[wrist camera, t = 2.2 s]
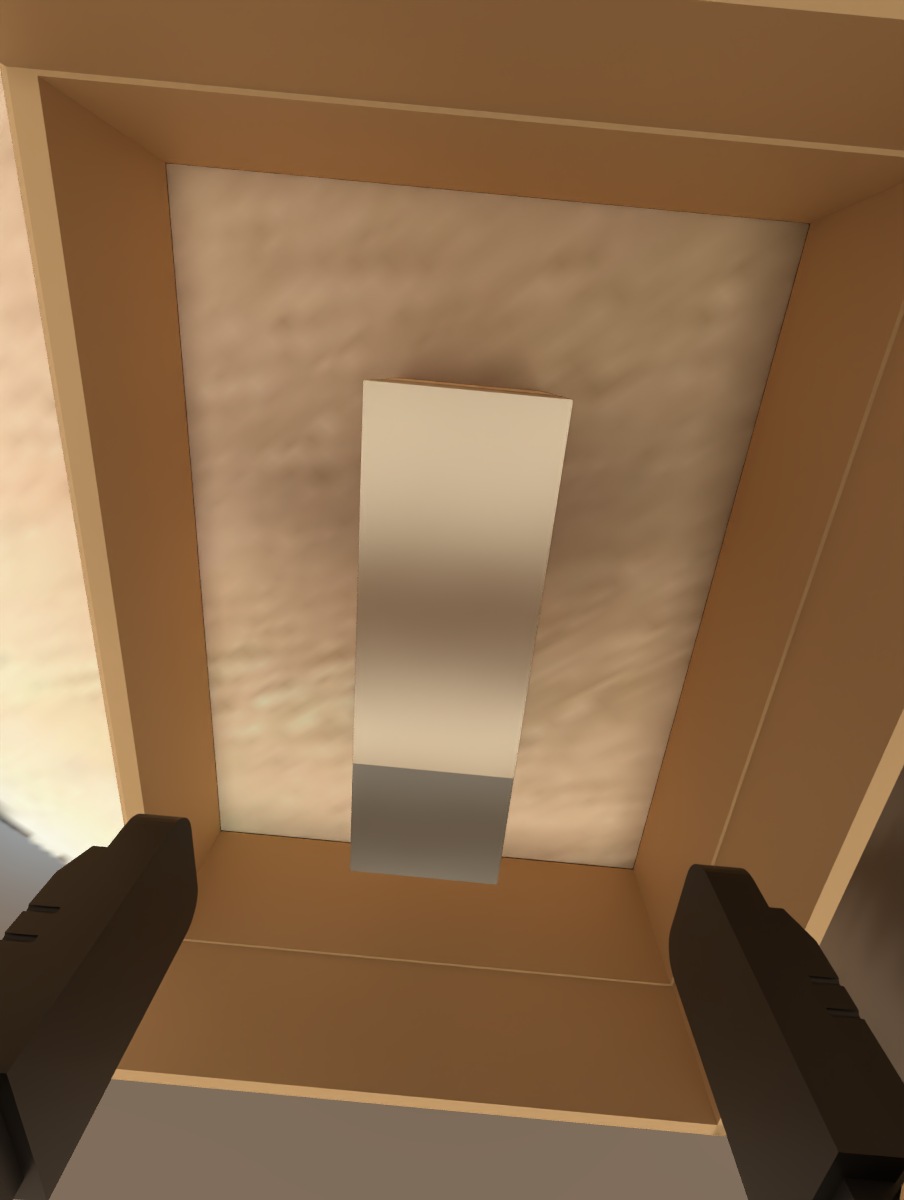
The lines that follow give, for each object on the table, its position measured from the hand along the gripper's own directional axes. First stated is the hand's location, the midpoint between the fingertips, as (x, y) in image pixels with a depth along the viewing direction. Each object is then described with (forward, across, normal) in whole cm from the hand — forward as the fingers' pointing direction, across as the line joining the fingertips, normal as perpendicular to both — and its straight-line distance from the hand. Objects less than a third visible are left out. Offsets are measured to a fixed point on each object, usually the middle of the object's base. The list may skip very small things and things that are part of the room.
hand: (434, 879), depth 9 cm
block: (+12, 0, 0) cm, 12 cm away
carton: (+12, 0, 0) cm, 12 cm away
